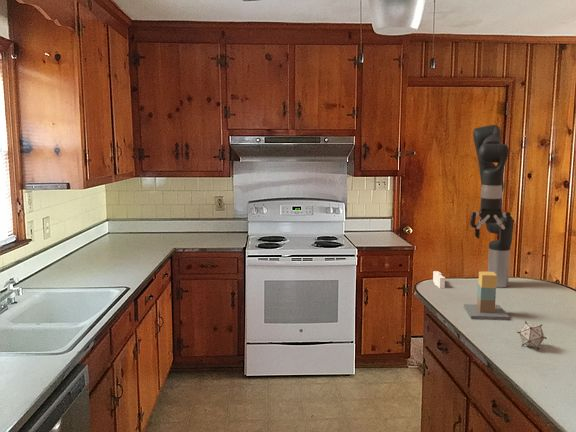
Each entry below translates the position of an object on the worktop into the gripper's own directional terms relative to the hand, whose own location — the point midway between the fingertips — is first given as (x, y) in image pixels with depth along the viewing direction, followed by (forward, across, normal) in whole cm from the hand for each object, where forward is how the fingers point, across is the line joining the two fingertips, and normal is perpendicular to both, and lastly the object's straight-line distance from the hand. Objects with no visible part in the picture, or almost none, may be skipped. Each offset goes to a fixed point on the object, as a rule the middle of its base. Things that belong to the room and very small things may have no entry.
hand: (489, 238), depth 203 cm
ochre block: (+19, 0, 0) cm, 19 cm away
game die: (+30, +7, -32) cm, 45 cm away
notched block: (+31, -11, +39) cm, 51 cm away
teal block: (+24, 0, 0) cm, 24 cm away
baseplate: (+30, 0, 0) cm, 30 cm away
